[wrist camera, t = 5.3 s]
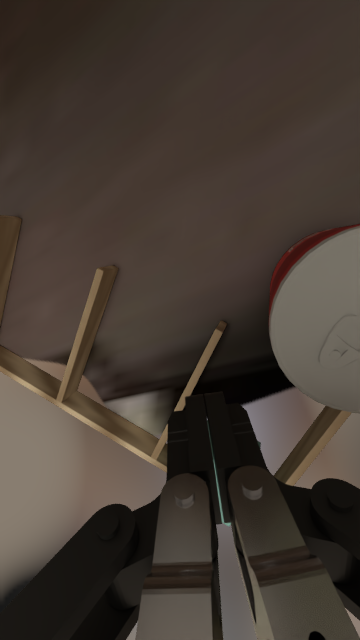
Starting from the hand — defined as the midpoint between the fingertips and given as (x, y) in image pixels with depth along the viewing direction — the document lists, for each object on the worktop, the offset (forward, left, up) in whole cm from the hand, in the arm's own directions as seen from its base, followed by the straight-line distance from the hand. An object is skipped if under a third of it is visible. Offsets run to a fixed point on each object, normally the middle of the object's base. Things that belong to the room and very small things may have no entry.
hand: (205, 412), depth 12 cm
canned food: (+4, +5, -14) cm, 15 cm away
